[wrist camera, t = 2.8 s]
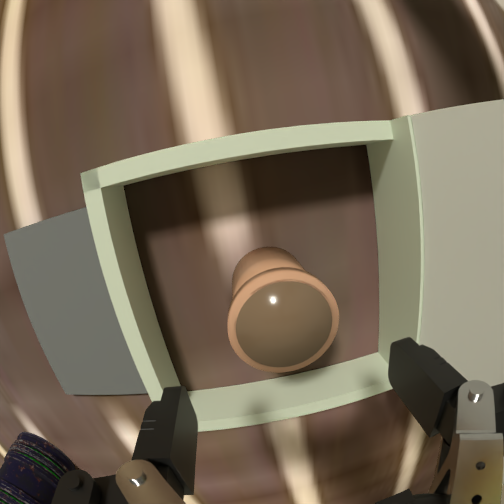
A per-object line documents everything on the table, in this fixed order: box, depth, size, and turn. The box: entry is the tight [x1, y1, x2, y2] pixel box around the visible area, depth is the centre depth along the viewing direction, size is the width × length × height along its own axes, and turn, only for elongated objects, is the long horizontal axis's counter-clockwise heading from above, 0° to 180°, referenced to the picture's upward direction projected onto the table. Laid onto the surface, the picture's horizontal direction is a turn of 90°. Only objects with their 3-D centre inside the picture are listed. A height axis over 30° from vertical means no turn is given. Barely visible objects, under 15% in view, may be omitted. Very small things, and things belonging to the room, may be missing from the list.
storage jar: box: [0, 432, 76, 504], centre depth 19 cm, size 10×10×15 cm
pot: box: [228, 247, 339, 373], centre depth 18 cm, size 6×6×7 cm
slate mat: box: [4, 207, 148, 395], centre depth 21 cm, size 10×16×1 cm, turn 10°
